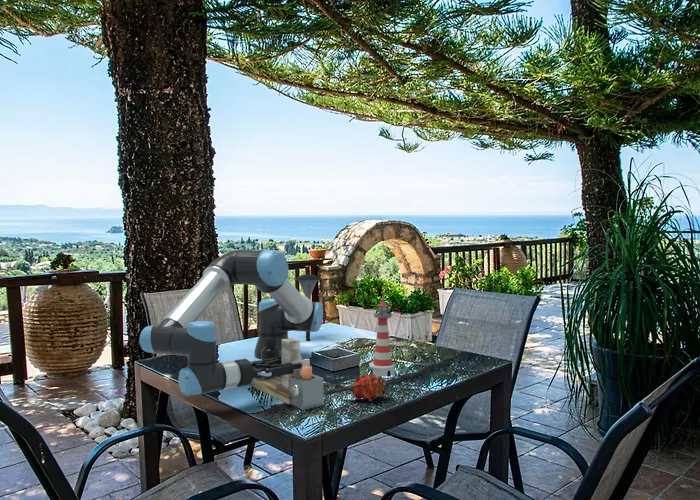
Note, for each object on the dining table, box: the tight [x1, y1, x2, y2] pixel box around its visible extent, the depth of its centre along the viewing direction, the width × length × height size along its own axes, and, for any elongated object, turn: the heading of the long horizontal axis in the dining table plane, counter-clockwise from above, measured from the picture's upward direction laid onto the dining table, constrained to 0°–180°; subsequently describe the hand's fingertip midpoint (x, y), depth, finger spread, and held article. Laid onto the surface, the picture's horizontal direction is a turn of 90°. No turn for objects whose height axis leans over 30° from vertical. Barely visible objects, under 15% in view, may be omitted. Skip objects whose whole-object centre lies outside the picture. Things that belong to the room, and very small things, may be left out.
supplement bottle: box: [260, 340, 281, 360], centre depth 192 cm, size 7×7×12 cm
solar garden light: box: [294, 274, 321, 342], centre depth 249 cm, size 12×12×30 cm
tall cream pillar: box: [276, 337, 301, 395], centre depth 166 cm, size 6×8×16 cm
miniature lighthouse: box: [368, 297, 396, 376], centre depth 190 cm, size 9×9×30 cm
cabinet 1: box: [249, 377, 273, 387], centre depth 182 cm, size 8×7×5 cm
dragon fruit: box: [349, 372, 388, 402], centre depth 163 cm, size 8×8×12 cm
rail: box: [253, 376, 291, 405], centre depth 170 cm, size 8×22×2 cm, turn 37°
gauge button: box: [301, 365, 313, 380], centre depth 159 cm, size 3×3×6 cm
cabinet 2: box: [289, 373, 325, 411], centre depth 159 cm, size 8×7×8 cm
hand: (304, 361), depth 169 cm, fingers closed on tall cream pillar, 4 cm apart
